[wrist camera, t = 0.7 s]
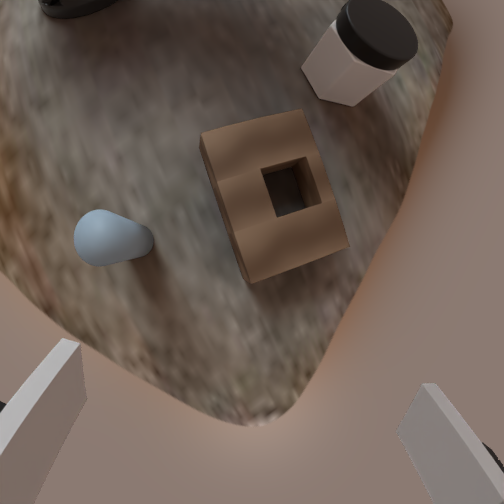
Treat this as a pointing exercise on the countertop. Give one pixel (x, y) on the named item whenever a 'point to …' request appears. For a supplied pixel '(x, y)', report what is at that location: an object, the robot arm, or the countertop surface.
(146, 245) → the peg
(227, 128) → the hole block
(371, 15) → the jar
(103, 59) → the countertop surface
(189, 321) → the countertop surface
